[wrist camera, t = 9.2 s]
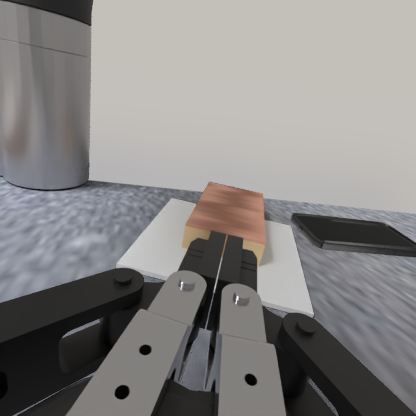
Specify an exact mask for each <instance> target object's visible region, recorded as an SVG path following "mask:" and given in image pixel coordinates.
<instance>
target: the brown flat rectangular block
mask: <svg viewBox="0 0 416 416" xmlns="http://www.w3.org/2000/svg"><path fill="white" fill-rule="evenodd" d="M211 230H213V231H217V232H222V233H226V234H227V235H226V239H225V244H224V248H223V252H222V257H223V253H224V249H225V245H226V241H227V237H228V234H230V235H234V236H238V237H242V238H243V249H247V250H251V251H253V252H254V254H255V255H256V257H257V266H259V264H260V261H261V258H262V254H263V251H264V248H265V244H266V235H265V219H264V202H263V194H262V193H257V192H253V191H248V190H244V189H239V188H235V187H231V186H226V185H222V184H217V183H213V182H209V183H208V185H207V187H206V188H205V190H204V192H203V194H202V195H201V197H200V199H199V201H198V203H197V204H196V206H195V208H194V210H193V211H192V213H191V215H190V217H189V219H188V220H187V222H186V224H185V230H184V236H183V242H182V248H186V249H188V247H189V245H190V243H191V242H192V241H193V240H195V239H196V238H202V239H206V240H208V239H209V236H210V233H211Z"/></svg>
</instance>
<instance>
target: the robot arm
mask: <svg viewBox="0 0 416 416" xmlns="http://www.w3.org/2000/svg"><path fill="white" fill-rule="evenodd" d="M92 5H93V0H0V175H1V176H3V177H4V178H5V180H6V181H8V182H9V183H12V184H14V185H17V186H21V187H26V188H33V189H64V188H71V187H75V186H79V185H81V184H84V183H85V182H87V181H88V179H89V146H90V144H89V143H90V83H91V27H90V26H91V12H92ZM226 235H227V234H226V233H222V232H217V231H213V230H211V233H210V236H209V239H208V240H206V239H202V238H196V239H195V240H193V241H192V242H191V243H190V245H189V247H188V249H187V251H186V254H185V256H184V258H183V260H182V262H181V264H180V266H179V269H178V271H177V272H174V273H172V274H171V275H170V276H169V277H168V279H167V280H166V281H164V282H159V283H149V282H144V278H143V276H142V274H141V273H140V272H138V271H136V270H134V269H131V268H116V269H112V270H109V271H105V272H102V273H99V274H95V275H92V276H89V277H85V278H82V279H79V280H75V281H72V282H69V283H65V284H62V285H59V286H55V287H52V288H49V289H45V290H42V291H39V292H35V293H32V294H29V295H26V296H22V297H19V298H16V299H12V300H9V301H6V302H2V303H0V416H13V415H15V414H16V413H18V412H20V411H22V410H24V409H26V408H28V407H30V406H31V405H33V404H35V403H37V402H39V401H41V400H43V399H45V398H46V397H48V396H50V395H52V394H54V393H56V392H58V391H59V392H58V393H56V394H54V395H52V396H51V397H49V398H47V399H45V400H44V401H42V402H40V403H38V404H37V405H35V406H33V407H31V408H30V409H28V410H26V411H24V412H22V413H21V414H19V415H17V416H336V415H335V414H334V413H333V412H332V410H331V409H330V408H329V407H328V406H327V404H326V403H325V402H324V401H323V400H322V398H321V397H320V396H319V395H318V394H317V392H316V391H315V390H314V389H313V388H312V386H311V385H310V384H309V383H308V381H309V379H310V378H311V379H312V381H313V382H314V383H315V384H316V385H317V387H318V388H319V389H320V390H321V391H322V392H323V394H324V395H325V396H326V397H327V398H328V400H329V401H330V402H331V403H332V404H333V406H334V407H335V408H336V410H337V412H338V414H339V416H416V414H415V413H413V412H412V411H411V410H410V409H409V408H408V407H407V406H406V405H405V404H404V403H403V402H402V401H401V400H400V399H399V398H398V397H397V396H396V395H394V394H393V393H392V392H391V391H390V390H389V389H388V388H387V387H386V386H385V385H384V384H383V383H382V382H381V381H380V380H379V379H378V378H377V377H376V376H374V375H373V374H372V373H371V372H370V371H369V370H368V369H367V368H366V367H365V366H364V365H363V364H362V363H361V362H360V361H359V360H358V359H357V358H355V357H354V356H353V355H352V354H351V353H350V352H349V351H348V350H347V349H346V348H345V347H344V346H343V345H342V344H341V343H340V342H339V341H338V340H337V339H335V338H334V337H333V336H332V335H331V334H330V333H329V332H328V331H327V330H326V329H325V328H324V327H323V326H322V325H321V324H320V323H318V322H317V321H316V320H315V319H313V318H311V317H310V316H308V315H305V314H302V313H296V312H295V313H289V314H287V315H286V316H285V317H284V319H283V318H281V317H279V316H277V315H275V314H273V313H272V312H270V311H269V310H267V309H266V308H265V307H264V306H263V305H262V302H261V298H260V296H259V294H258V293H257V257H256V255H255V254H254V252H253V251H251V250H247V249H243V238H242V237H238V236H234V235H230V234H228V237H227V241H226V245H225V249H224V253H223V258H222V262H221V266H220V261H221V257H222V252H223V248H224V244H225V239H226ZM219 266H220V270H219ZM218 270H219V275H218V279H217V274H218ZM216 279H217V284H216V288H215V293H214V297H213V302H212V306H211V311H210V315H209V320H208V324H207V330H211V331H212V332H211V337H210V341H209V345H208V349H207V358H206V368H205V377H204V386H203V391H192V390H189V389H187V388H185V387H183V386H182V385H180V381H181V379H182V376H183V373H184V370H185V367H186V365H187V362H188V359H189V356H190V354H191V351H192V348H193V345H194V340H195V339H196V337H197V335H198V331H199V328H203V329H205V325H206V321H207V317H208V313H209V308H210V304H211V300H212V296H213V291H214V287H215V283H216ZM97 319H100V323H97V324H95V325H93V326H90V327H88V328H86V329H83V330H81V331H78V332H76V333H74V334H71V335H69V336H67V337H64V338H62V337H63V336H64V335H65V334H66V333H67V332H69V331H71V330H73V329H75V328H78V327H80V326H83V325H85V324H87V323H90V322H92V321H95V320H97ZM61 338H62V339H61ZM95 371H96V373H95V374H94V376H91V377H88V378H85V379H83V380H80V379H82V378H84V377H86V376H88V375H90V374H91V373H93V372H95ZM78 380H80V381H78ZM76 381H78V382H76ZM75 382H76V383H75ZM73 383H74V384H73ZM71 384H72V385H71ZM69 385H70V386H69ZM67 386H68V387H67ZM65 387H66V388H65ZM63 388H65V389H63ZM61 389H63V390H61ZM60 390H61V391H60Z"/></svg>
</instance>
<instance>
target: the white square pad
mask: <svg viewBox="0 0 416 416" xmlns="http://www.w3.org/2000/svg"><path fill="white" fill-rule="evenodd" d="M195 206H196V204H195V203H191V202H186V201H182V200H178V199H174V198H171V199H170V201H169V202H168V203H167V204H166V205H165V207H164V208H163V209H162V210H161V211H160V213H159V214H158V215H157V216H156V217H155V218H154V220H153V221H152V222H151V223H150V224H149V226H148V227H147V228H146V229H145V230H144V232H143V233H142V234H141V235H140V236H139V237H138V239H137V240H136V241H135V242H134V243H133V245H132V246H131V247H130V248H129V249H128V251H127V252H126V253H125V254H124V255H123V256H122V258H121V259H120V260H119V261H118V262H117V265H116V268H131V269H134V270H136V271H138V272H140V273H141V274H142V275H146V276H150V277H154V278H158V279H162V280H165V281H166V280H167V279H168V277H169V276H170V275H171V274H172V273H174V272H177V271H178V269H179V266H180V264H181V262H182V260H183V258H184V256H185V254H186V251H187V249H186V248H182V242H183V236H184V230H185V224H186V222H187V220H188V219H189V217H190V215H191V213H192V211H193V210H194V208H195ZM265 235H266V244H265V248H264V251H263V254H262V258H261V261H260V264H259V266H257V293H258V294H259V296H260V298H261V302H262V305H263V306H266V307H270V308H273V309H277V310H281V311H285V312H289V313H295V312H296V313H302V314H305V315H308V316H310V317H311V318H313V316H314V312H313V309H312V305H311V301H310V297H309V293H308V289H307V286H306V282H305V278H304V274H303V270H302V266H301V263H300V259H299V255H298V251H297V247H296V243H295V240H294V236H293V232H292V228H291V226H289V225H285V224H280V223H276V222H272V221H268V220H265ZM222 258H223V257H221V261H220V266H221V262H222ZM220 266H219V270H220ZM219 270H218V274H217V279H218V275H219ZM217 279H216V283H215V287H214V291H213V293H215V288H216V284H217Z"/></svg>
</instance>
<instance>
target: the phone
mask: <svg viewBox="0 0 416 416" xmlns="http://www.w3.org/2000/svg"><path fill="white" fill-rule="evenodd" d="M291 221H292V222H293V223H294V224H295V225H296V226H297V227H298V229H299V230H300V231H301V232H302V233H303V234H304V235H305V236H306V237H307V239H308V240H309V241H310V242H311V243H312V244H313V245H315V246H316V247H319V248H321V249H326V250H338V251H349V252H361V253H372V254H384V255H395V256H407V257H416V243H415V242H414V241H412V240H411V239H409V238H408V237H406V236H405V235H403V234H402V233H400V232H399V231H397V230H396V229H394V228H392V227H391V226H389V225H387V224H384V223H381V222H374V221H365V220H356V219H347V218H338V217H329V216H320V215H312V214H303V213H293V215H292V218H291ZM300 226H301V228H302V229H303V231H302V230H301V228H300Z"/></svg>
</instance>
